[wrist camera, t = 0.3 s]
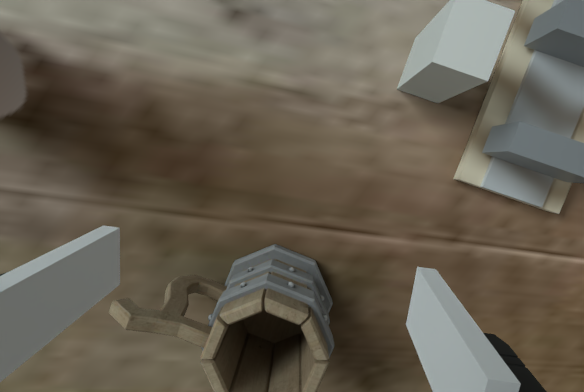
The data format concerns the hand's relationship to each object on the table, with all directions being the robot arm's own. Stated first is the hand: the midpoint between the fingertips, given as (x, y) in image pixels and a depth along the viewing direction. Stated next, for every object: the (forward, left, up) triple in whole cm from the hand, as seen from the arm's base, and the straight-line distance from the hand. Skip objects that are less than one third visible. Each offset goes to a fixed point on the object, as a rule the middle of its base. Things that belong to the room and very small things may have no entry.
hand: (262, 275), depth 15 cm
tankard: (+11, -4, -27) cm, 29 cm away
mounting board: (-13, +28, -27) cm, 41 cm away
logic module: (-16, +15, -27) cm, 35 cm away
